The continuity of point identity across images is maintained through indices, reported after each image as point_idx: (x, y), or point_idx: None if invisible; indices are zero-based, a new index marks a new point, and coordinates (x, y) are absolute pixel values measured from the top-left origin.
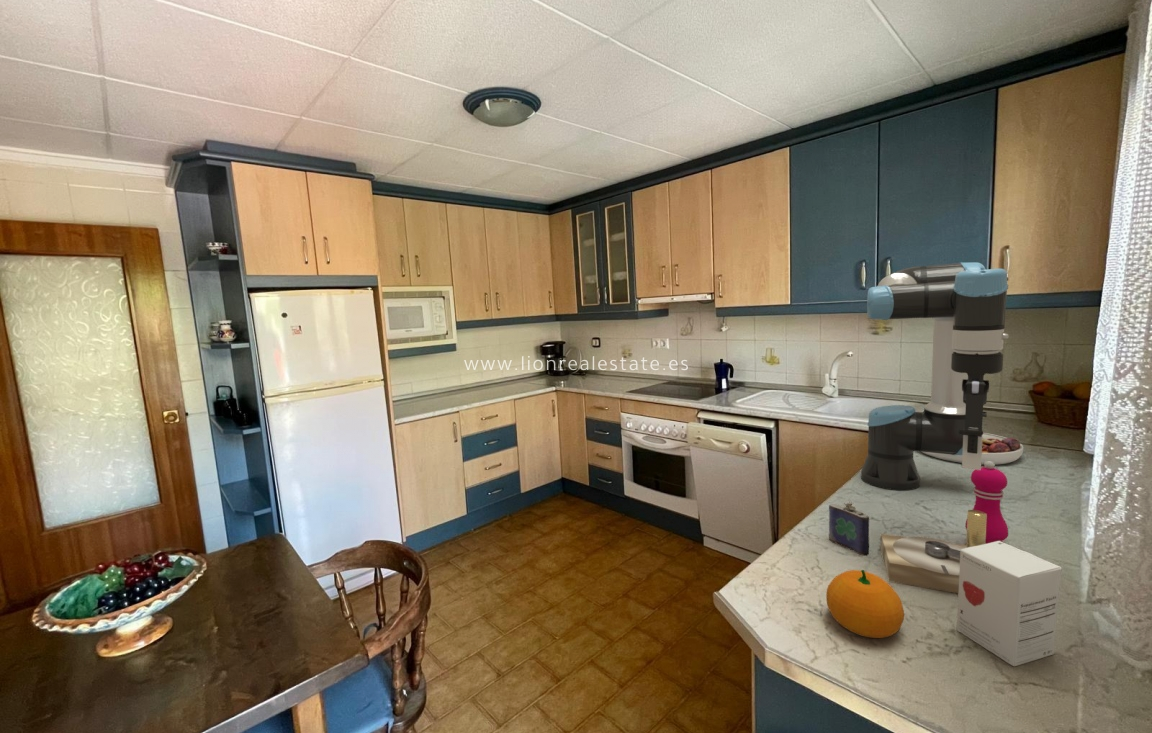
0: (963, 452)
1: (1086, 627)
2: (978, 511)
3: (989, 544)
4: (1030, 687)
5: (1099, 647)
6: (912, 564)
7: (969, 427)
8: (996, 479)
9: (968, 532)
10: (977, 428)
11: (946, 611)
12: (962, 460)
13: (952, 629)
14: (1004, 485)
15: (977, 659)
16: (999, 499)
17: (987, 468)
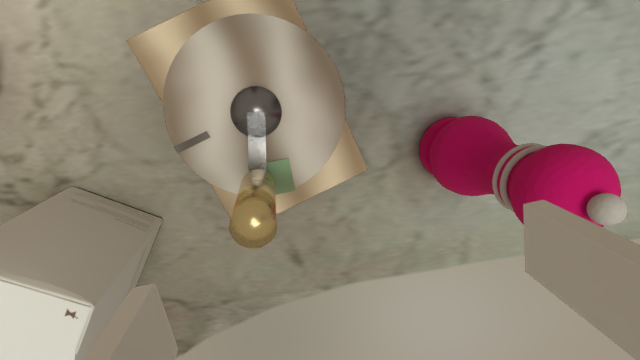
0: (92, 354)
1: (251, 305)
2: (268, 226)
3: (42, 299)
4: None
5: (205, 322)
6: (163, 83)
7: (636, 290)
8: None
9: (240, 192)
10: (631, 331)
11: (121, 158)
12: (113, 315)
13: (69, 180)
14: None
15: None
16: (504, 205)
17: (588, 202)
